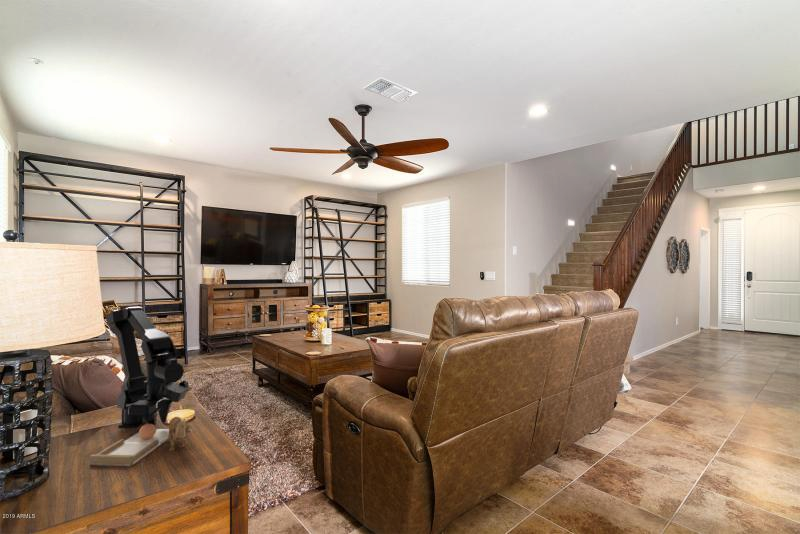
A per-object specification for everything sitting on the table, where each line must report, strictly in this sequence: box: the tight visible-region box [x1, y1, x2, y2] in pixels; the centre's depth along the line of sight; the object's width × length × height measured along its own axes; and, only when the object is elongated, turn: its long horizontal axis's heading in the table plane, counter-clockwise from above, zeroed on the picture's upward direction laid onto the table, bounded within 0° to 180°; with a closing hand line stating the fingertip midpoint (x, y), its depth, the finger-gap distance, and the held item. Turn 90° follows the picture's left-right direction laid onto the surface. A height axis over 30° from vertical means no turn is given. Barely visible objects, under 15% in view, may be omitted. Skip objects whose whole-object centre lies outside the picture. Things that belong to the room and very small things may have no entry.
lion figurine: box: [166, 416, 194, 452], centre depth 118 cm, size 15×5×9 cm, turn 44°
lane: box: [89, 428, 169, 467], centre depth 116 cm, size 11×22×2 cm, turn 179°
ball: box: [138, 423, 157, 439], centre depth 120 cm, size 4×4×4 cm
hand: (158, 425), depth 125 cm, fingers open, 5 cm apart
